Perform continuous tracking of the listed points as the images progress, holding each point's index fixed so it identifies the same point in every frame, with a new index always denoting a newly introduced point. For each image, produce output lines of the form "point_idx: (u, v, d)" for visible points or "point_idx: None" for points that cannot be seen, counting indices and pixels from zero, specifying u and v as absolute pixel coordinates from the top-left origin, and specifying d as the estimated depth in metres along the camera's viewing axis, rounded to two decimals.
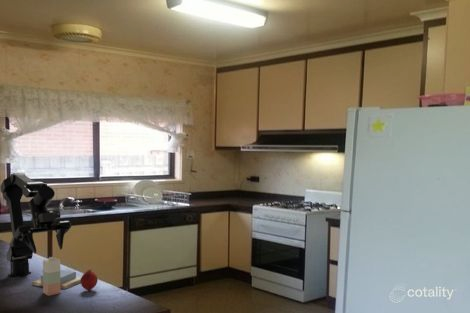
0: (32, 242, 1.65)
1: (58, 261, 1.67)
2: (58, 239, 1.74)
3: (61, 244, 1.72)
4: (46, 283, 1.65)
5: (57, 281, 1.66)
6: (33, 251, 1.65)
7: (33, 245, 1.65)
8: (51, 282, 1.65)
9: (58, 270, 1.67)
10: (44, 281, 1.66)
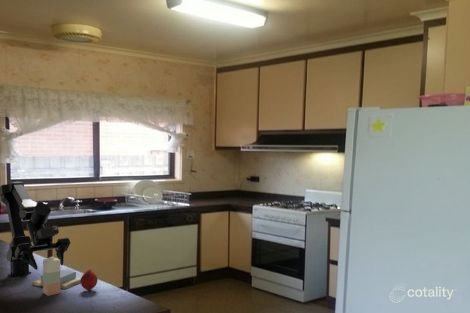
0: (32, 259, 1.66)
1: (58, 261, 1.67)
2: (58, 256, 1.74)
3: (62, 260, 1.72)
4: (46, 283, 1.65)
5: (57, 281, 1.66)
6: (34, 268, 1.65)
7: (34, 261, 1.66)
8: (51, 282, 1.65)
9: (58, 270, 1.67)
10: (44, 281, 1.66)
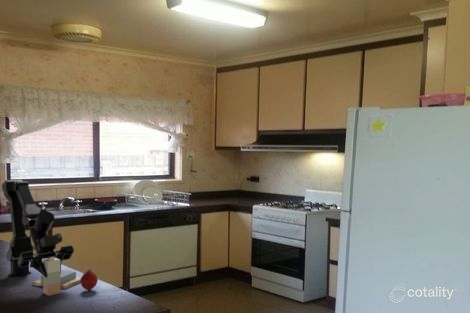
0: (42, 266, 1.65)
1: (58, 261, 1.67)
2: None
3: None
4: (46, 283, 1.65)
5: (57, 281, 1.66)
6: (44, 275, 1.65)
7: (43, 269, 1.65)
8: (51, 282, 1.65)
9: (58, 270, 1.67)
10: (44, 281, 1.66)
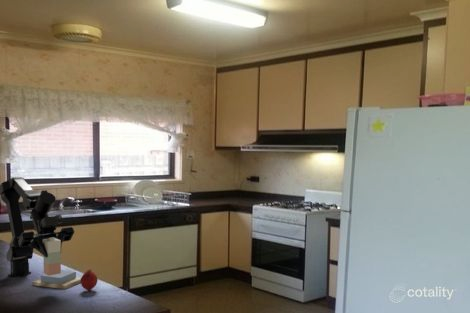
0: (43, 246, 1.66)
1: (58, 241, 1.68)
2: None
3: None
4: (46, 263, 1.66)
5: (57, 261, 1.68)
6: (44, 255, 1.66)
7: (44, 249, 1.66)
8: (51, 262, 1.66)
9: (58, 250, 1.68)
10: (44, 261, 1.68)
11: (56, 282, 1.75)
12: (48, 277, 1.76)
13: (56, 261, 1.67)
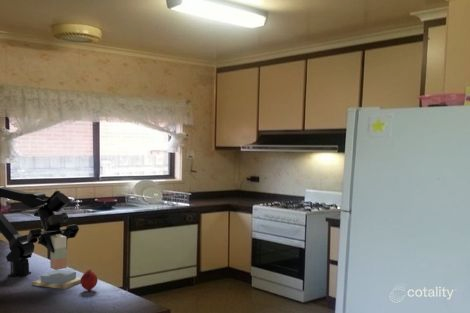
0: (50, 242, 1.77)
1: (64, 238, 1.79)
2: None
3: None
4: (53, 258, 1.77)
5: (63, 256, 1.79)
6: (51, 251, 1.77)
7: (51, 245, 1.77)
8: (58, 257, 1.77)
9: (64, 246, 1.79)
10: (51, 256, 1.79)
11: (56, 282, 1.75)
12: (48, 277, 1.76)
13: (62, 256, 1.78)
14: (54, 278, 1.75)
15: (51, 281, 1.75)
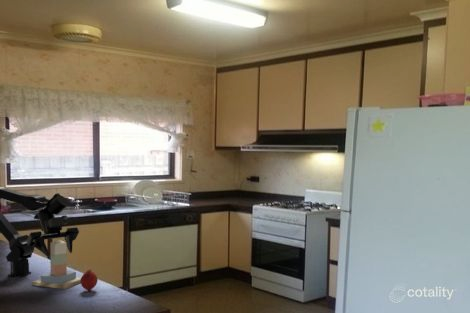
0: (44, 246, 1.76)
1: (64, 244, 1.79)
2: (67, 244, 1.84)
3: (71, 248, 1.82)
4: (53, 264, 1.77)
5: (63, 262, 1.79)
6: (46, 254, 1.76)
7: (45, 249, 1.76)
8: (58, 263, 1.77)
9: (64, 252, 1.79)
10: (51, 262, 1.79)
11: (56, 282, 1.75)
12: (48, 277, 1.76)
13: (62, 262, 1.78)
14: (54, 278, 1.75)
15: (51, 281, 1.75)
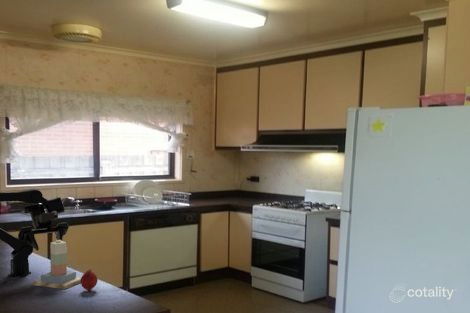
0: (34, 240, 1.83)
1: (64, 244, 1.79)
2: (58, 239, 1.91)
3: None
4: (53, 264, 1.77)
5: (63, 262, 1.79)
6: (36, 249, 1.82)
7: (35, 243, 1.82)
8: (58, 263, 1.77)
9: (64, 252, 1.79)
10: (51, 262, 1.79)
11: (56, 282, 1.75)
12: (48, 277, 1.76)
13: (62, 262, 1.78)
14: (54, 278, 1.75)
15: (51, 281, 1.75)
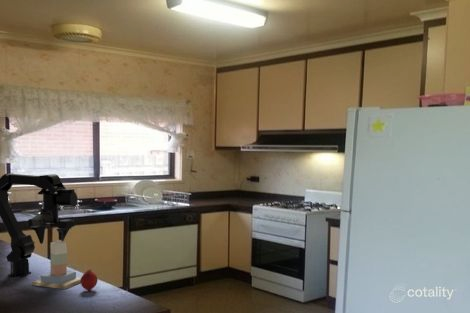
0: (38, 235, 1.89)
1: (64, 244, 1.79)
2: None
3: None
4: (53, 264, 1.77)
5: (63, 262, 1.79)
6: None
7: (38, 237, 1.89)
8: (58, 263, 1.77)
9: (64, 252, 1.79)
10: (51, 262, 1.79)
11: (56, 282, 1.75)
12: (48, 277, 1.76)
13: (62, 262, 1.78)
14: (54, 278, 1.75)
15: (51, 281, 1.75)
